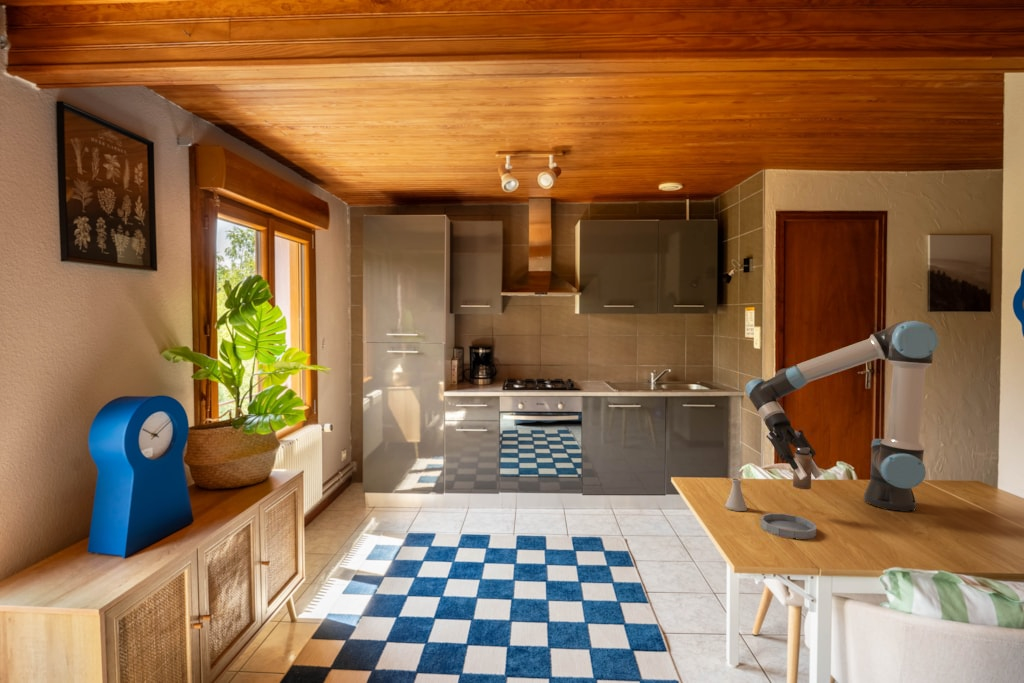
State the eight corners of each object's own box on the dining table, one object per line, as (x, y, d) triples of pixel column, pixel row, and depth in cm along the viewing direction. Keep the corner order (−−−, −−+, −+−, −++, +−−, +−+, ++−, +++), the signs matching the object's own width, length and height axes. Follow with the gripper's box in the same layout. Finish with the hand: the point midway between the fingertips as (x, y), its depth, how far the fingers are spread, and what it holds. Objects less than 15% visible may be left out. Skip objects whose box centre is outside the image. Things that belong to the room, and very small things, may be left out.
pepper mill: (805, 484, 179) (806, 446, 178) (814, 489, 173) (815, 449, 173) (789, 484, 179) (790, 445, 178) (798, 489, 173) (799, 449, 173)
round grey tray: (799, 521, 172) (799, 513, 172) (826, 539, 157) (827, 531, 157) (752, 520, 172) (752, 513, 172) (775, 539, 157) (775, 531, 157)
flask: (749, 512, 179) (750, 483, 179) (726, 511, 180) (727, 481, 180) (744, 505, 186) (745, 477, 186) (722, 504, 187) (723, 475, 187)
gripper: (790, 422, 193) (827, 480, 177) (747, 425, 188) (781, 484, 173) (801, 410, 188) (841, 469, 172) (758, 412, 183) (794, 472, 167)
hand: (811, 476), depth 172 cm, fingers closed on pepper mill, 5 cm apart
